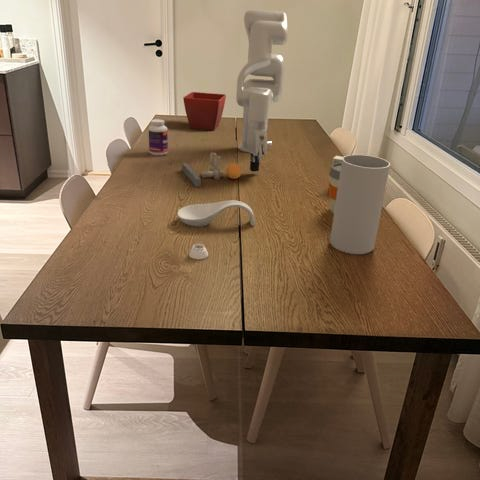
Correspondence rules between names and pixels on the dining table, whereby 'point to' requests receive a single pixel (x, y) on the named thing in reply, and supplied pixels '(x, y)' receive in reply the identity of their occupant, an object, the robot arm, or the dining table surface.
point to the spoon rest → (210, 212)
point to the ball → (234, 171)
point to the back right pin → (212, 161)
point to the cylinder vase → (359, 203)
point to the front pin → (210, 174)
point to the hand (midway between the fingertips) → (254, 170)
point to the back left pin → (217, 167)
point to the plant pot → (204, 110)
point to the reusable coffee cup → (334, 184)
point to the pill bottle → (158, 138)
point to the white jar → (198, 252)
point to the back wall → (191, 175)
